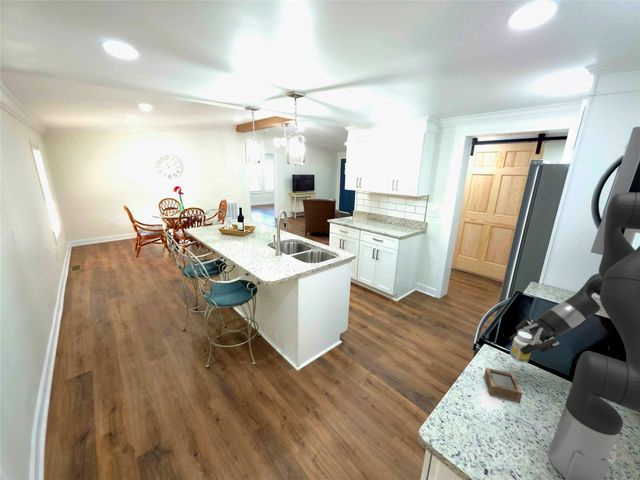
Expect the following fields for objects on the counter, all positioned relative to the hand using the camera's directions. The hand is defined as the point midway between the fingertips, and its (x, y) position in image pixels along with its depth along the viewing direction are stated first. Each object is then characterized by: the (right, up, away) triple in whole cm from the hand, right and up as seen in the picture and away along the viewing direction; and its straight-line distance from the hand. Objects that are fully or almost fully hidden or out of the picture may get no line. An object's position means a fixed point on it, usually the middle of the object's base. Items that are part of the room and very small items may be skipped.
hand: (516, 346), depth 91 cm
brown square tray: (-7, -14, -1) cm, 16 cm away
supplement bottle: (+2, -5, +1) cm, 5 cm away
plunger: (-7, -11, -2) cm, 13 cm away
